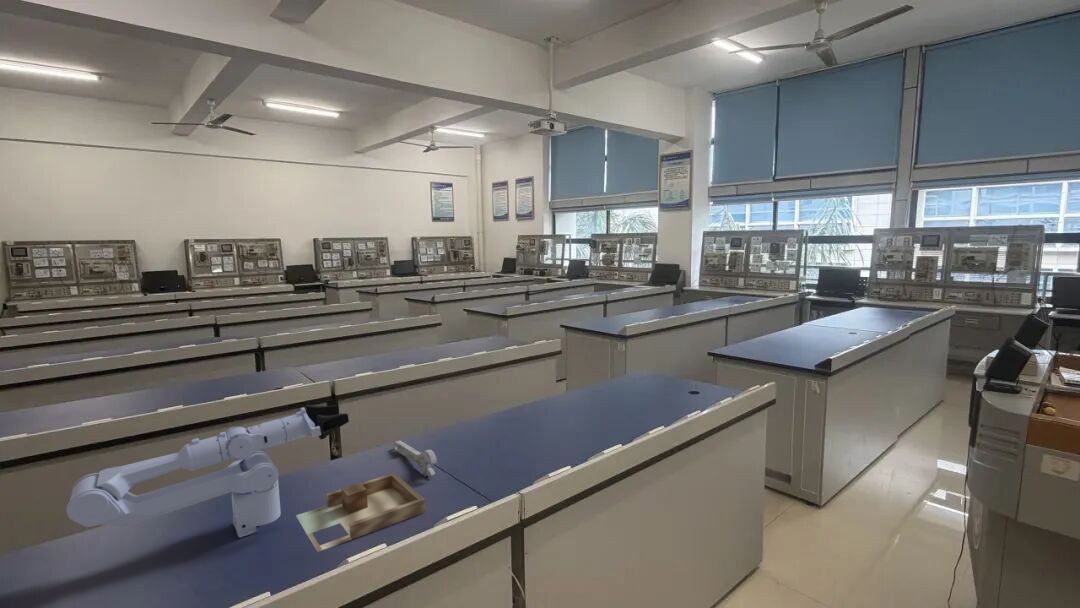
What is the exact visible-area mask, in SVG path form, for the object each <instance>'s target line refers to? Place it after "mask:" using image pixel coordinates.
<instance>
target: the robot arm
mask: <svg viewBox="0 0 1080 608" xmlns="http://www.w3.org/2000/svg"><path fill="white" fill-rule="evenodd" d="M339 411H340V410H339V406H338V405H336V404H335V405H324V406H323V405H321V406H320V405H311V404H305V405H304V407H300V411H297V412H295V414H292V415H288V416H286V417H281V418H278V419H277V418H276V419H273V420H269V421H266V422H262V423H258V424H255V425H252V426H248V427H246V428H245V427H243V426H233V427H229V428H228V429H227V430H226V431H222V432H219V435H215V436H211V437H207V438H204V439H201V440H200V438H199V437H197V438H194V439H191V441H190V443H187V444H184V446H183V447H182V448H181V449H180V450H179V451H178V452H174V453H171V454H166V455H162V456H158V457H152V458H150V459H145V460H141V461H136V462H132V463H129V464H125V465H120V466H114V467H108V468H104V469H101V470H100V471H99V472H95V473H89V474H86V475H84V476H82V477H80V478H79V479H78V480H77V481H76V482H75V483H74V484H73V486H72V488H71V496H70V499H69V502H68V503H67V506H66V515H67V517H68V518H69V519H70V520H71V521H73V522H75V523H77V524H79V525H81V526H83V527H84V528H91V527H95V526H108V527H109V526H110V527H129V526H133V525H134V526H135V525H136V524H139V523H143V522H145V521H148V520H151V519H155V518H157V517H161V516H163V515H166V514H169V513H172V512H175V511H178V510H180V509H181V510H182V509H184V508H187V507H191V506H193V505H196V504H200V503H203V502H205V501H208V500H212V499H214V498H218V497H220V496H223V495H227V494H229V493H231V505H232V524H233V526H234V528H235V529H234V530H235V531H236V535H237V537H238V538H243V537H246V536H249V535H252V534H256V533H258V532H259V530H258V528H257V527H260V526H265V525H268V524H270V523H273V522H274V521H277V520H278V519H279V517H281V514H282V513H281V501H280V487H279V477H280V476H279V469H278V468H277V466H276V465H275V464H274V463H273V461H272V459H271V456H270V455H269V454H268V453H267V452H265V451H262V450H264V449H268V448H271V447H274V446H278V445H282V444H285V443H288V442H291V441H295V440H299V439H302V438H303V439H304V438H305V437H306V438H309V437H311V438H317V437H318V438H319V439H320V440H324V439H326V438H327V437H328V436H329V435H330V434H331V433H333V432H334V431H335V430H337V429H339V428H340V427H342V426H344V425H346V424H348V423H349V422H350V420H349V413H340V412H339ZM229 459H233V460H234V459H235V461H233V462H232V463H230V464H229V465H228V466H226V468H222V469H219V470H216V471H212V472H210V473H206V474H204V475H200V476H197V477H193V478H190V479H187V480H183V481H180V482H178V483H173V484H171V485H167V486H164V487H160V488H157V489H153V490H151V491H147V492H144V493H142V494H138V495H136V494H133V493H131V492H129V490H131V489H132V487H133V486H135V485H137V484H139V483H143V482H146V481H148V480H151V479H154V478H156V477H160V476H162V475H165V474H167V473H172V472H174V471H178V470H181V469H185V470H187V471H190V472H193V471H195V470H196V471H197V470H199V469H203V468H206V467H208V466H212V465H215V464H220V463H221V462H225V461H227V460H229Z"/></svg>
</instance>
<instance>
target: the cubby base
mask: <svg viewBox="0 0 1080 608" xmlns="http://www.w3.org/2000/svg"><path fill="white" fill-rule="evenodd" d="M360 483H361V484H362V485H363V486H364V487H365V488H366V489H367V502H368V507H367V508H364V509H361V510H359V511H356V512H353V513H350V514H348V512H347V511H346V510H345V509H344V507H343V506H342V491H341V488H340V489H337V490H334V491H331V492H328V493H326V505H324V506H321V507H318V508H315V509H312V510H308V511H305V512H302V513H299V514H296V515H295V517H296V518H297V521H298V522H299V524H300V525H301V528H303V529H302V530H304V532H305V534H306V537H308V539H309V541H310V543H311V544H312V546H313V547H314V549H315V551H316V552H317V553H319V552H322V551H324V550H327V549H330V548H332V547H334V546H338V545H340V544H343V543H346V542H349V541H351V540H354V539H357V538H359V537H361V536H365V535H367V534H369V533H372V532H373V533H374V532H376V531H378V530H381V529H383V528H386V527H390V526H391V525H394V524H398V523H400V522H402V521H403V522H404V521H405V520H407V519H411V518H413V517H416V516H419V515H422V514H424V513H426V499H425V497H423V496H422V495H420V494H419V493H418V492H417V491H416V490H415V489H413V488H412V487H411V486H410V485H409V484H408V483H407V482H406V481H404V480H403V479H402V478H401V477H400V476H399V475H397V474H396V473H395V472H392V473H389V474H386V475H382V476H379V477H377V478H373V479H370V480H366V481H364V482H360ZM339 524H340V526H342V528H343V529H344V530H345V532H346V533H347V535H344V536H342V537H340V538H336V539H333V540H332V541H329V542H326V543H323V544H319V542H318V541H317V539H316V537H315V535H314V533H316V532H320V531H322V530H325V529H328V528H331V527H333V526H336V525H339Z"/></svg>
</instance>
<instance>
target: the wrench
mask: <svg viewBox="0 0 1080 608" xmlns="http://www.w3.org/2000/svg"><path fill="white" fill-rule="evenodd" d="M393 447H394V450H395V452H397V453H399V454H400V455H402V456H403V457H405V458H407V459H409V460H410V461H412V462H414V463H415V464H417V465H418V467H419V468H420V470H421V472H422V475H423V477H425V478H431V477H435V475H436V472H435V470H434V469H433V468H432V465H436V464H438V461H437V460H438V459H437V455H436V454H435V452H434V451H433V450H432V449H428V450H427V449H426V450H424V451H423V452H420V451H418V450H417V449H416V448H414V447H412V446H410V445H408V444H407V443H405V442H403V441H402V440H396V441H394V442H393ZM426 476H428V477H426Z"/></svg>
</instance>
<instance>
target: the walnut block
mask: <svg viewBox="0 0 1080 608" xmlns="http://www.w3.org/2000/svg"><path fill="white" fill-rule="evenodd" d="M361 483H362V482H358V483H354V484H351V485H348V486H345V487H342V488H340V489H341V491H342V506H343V507H344V509H345V510H346V511H347V512H348V514H350V513H353V512H356V511H359V510H361V509H364V508H367V507H368V502H367V489H366V488H365V487H364V486H363V485H362V484H361Z"/></svg>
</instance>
